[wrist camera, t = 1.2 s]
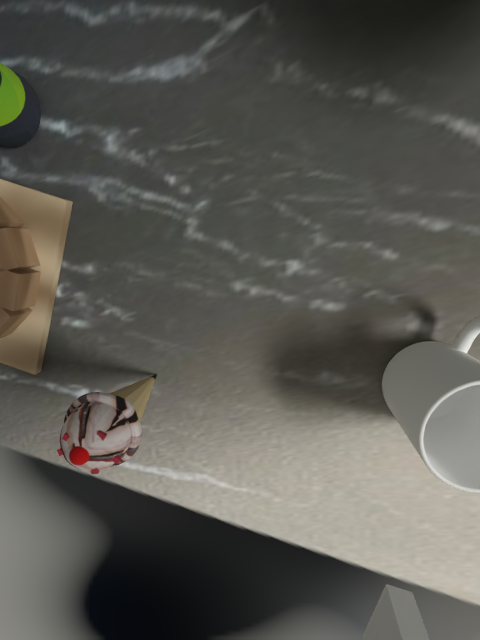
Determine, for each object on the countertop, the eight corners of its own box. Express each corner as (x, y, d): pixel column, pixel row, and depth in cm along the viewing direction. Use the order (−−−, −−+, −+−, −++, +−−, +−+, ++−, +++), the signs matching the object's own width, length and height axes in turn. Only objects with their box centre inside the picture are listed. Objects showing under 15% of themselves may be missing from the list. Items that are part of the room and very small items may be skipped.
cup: (364, 402, 35) (397, 465, 25) (423, 288, 32) (486, 307, 22) (445, 434, 34) (511, 511, 25) (511, 322, 32) (615, 357, 22)
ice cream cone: (120, 382, 37) (16, 472, 23) (143, 337, 36) (48, 401, 21) (168, 409, 37) (95, 516, 23) (193, 365, 36) (132, 448, 21)
